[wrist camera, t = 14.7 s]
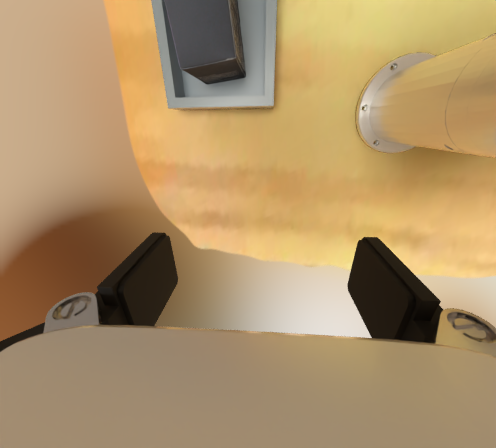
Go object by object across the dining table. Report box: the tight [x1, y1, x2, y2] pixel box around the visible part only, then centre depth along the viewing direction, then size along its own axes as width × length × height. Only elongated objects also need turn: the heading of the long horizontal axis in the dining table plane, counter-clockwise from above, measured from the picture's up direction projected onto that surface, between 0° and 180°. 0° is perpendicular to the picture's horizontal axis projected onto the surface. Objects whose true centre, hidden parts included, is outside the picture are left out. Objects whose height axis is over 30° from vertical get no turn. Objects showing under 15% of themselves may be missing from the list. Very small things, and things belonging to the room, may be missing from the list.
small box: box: [165, 0, 246, 84], centre depth 24 cm, size 11×6×10 cm, turn 8°
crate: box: [151, 0, 277, 110], centre depth 27 cm, size 14×17×5 cm
